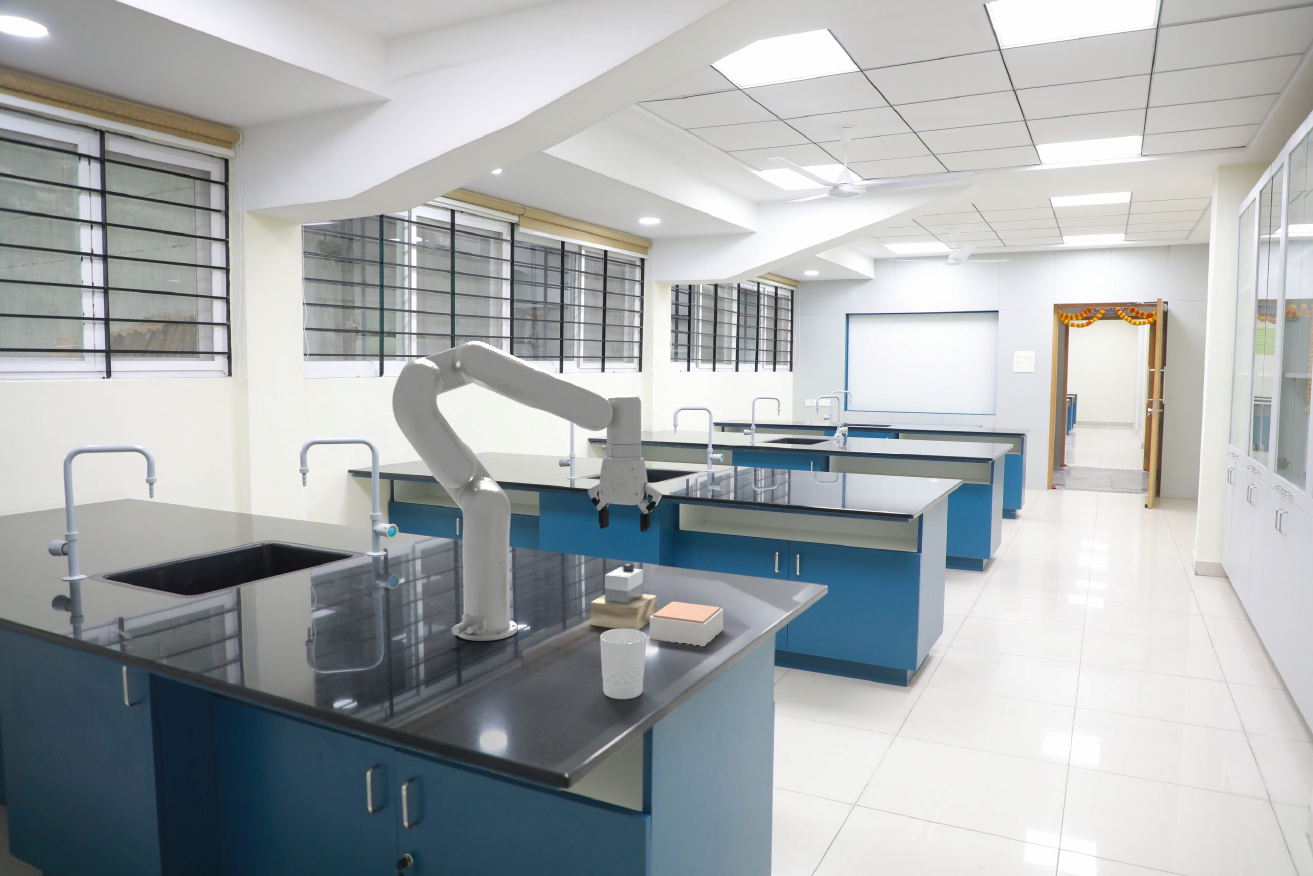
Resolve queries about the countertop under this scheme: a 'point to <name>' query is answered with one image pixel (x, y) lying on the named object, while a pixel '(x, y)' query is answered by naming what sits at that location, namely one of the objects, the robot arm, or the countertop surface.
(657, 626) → the stand
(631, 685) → the white cup
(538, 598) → the countertop surface
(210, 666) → the countertop surface
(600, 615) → the stand
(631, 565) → the housing
